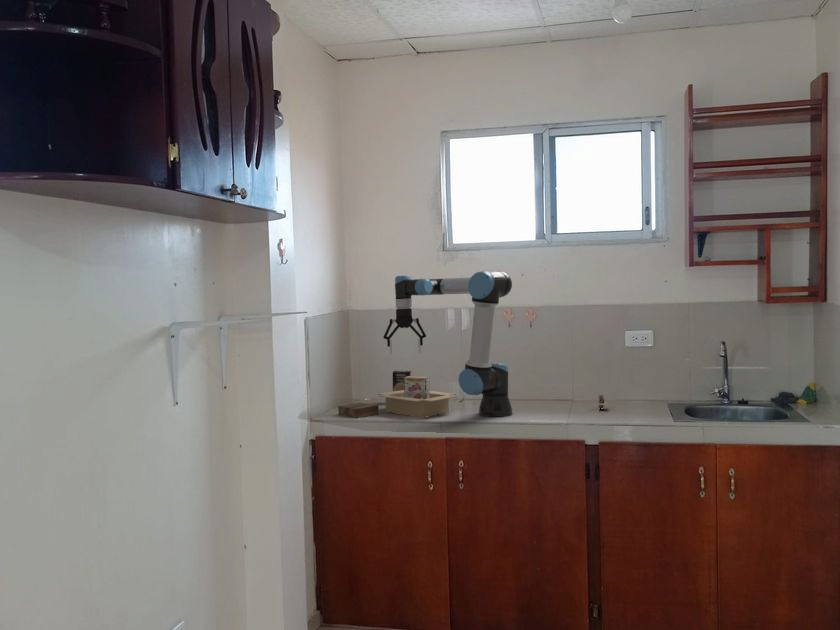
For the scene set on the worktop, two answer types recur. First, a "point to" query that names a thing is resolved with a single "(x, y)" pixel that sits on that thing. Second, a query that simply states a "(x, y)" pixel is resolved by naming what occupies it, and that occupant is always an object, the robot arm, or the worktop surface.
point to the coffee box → (399, 379)
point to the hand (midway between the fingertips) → (405, 353)
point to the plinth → (358, 410)
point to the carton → (417, 403)
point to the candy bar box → (417, 387)
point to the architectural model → (601, 401)
